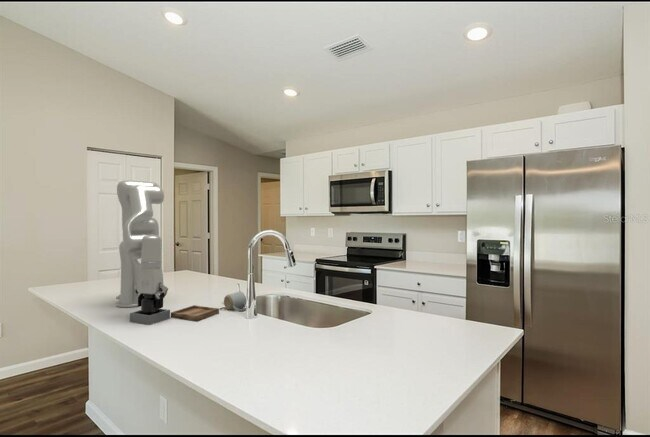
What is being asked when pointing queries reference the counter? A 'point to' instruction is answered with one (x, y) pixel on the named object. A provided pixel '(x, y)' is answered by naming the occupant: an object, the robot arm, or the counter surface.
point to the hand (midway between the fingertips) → (150, 307)
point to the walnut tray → (194, 313)
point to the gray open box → (149, 317)
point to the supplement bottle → (149, 304)
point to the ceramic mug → (235, 301)
